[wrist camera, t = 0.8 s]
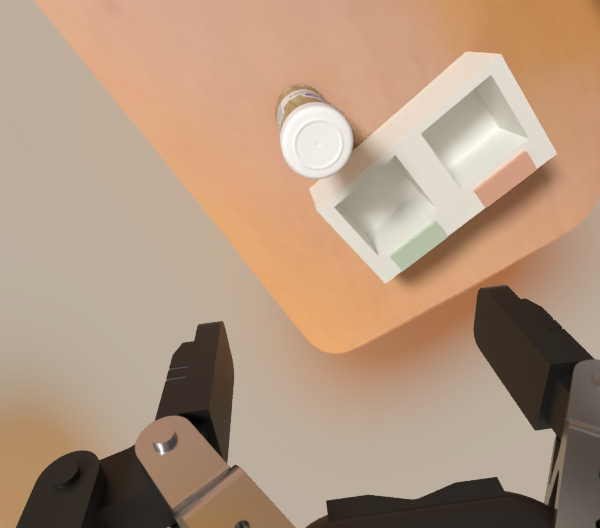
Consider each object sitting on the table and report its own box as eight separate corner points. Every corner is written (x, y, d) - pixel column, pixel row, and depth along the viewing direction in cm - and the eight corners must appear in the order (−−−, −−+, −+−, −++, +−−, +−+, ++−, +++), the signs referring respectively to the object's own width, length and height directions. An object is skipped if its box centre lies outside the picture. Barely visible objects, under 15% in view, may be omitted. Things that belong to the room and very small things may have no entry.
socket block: (466, 51, 37) (503, 54, 32) (520, 141, 41) (561, 158, 36) (309, 188, 42) (317, 212, 36) (372, 257, 46) (389, 288, 40)
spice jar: (326, 84, 38) (358, 107, 26) (323, 138, 40) (351, 181, 28) (274, 82, 37) (282, 104, 25) (273, 136, 39) (280, 180, 27)
